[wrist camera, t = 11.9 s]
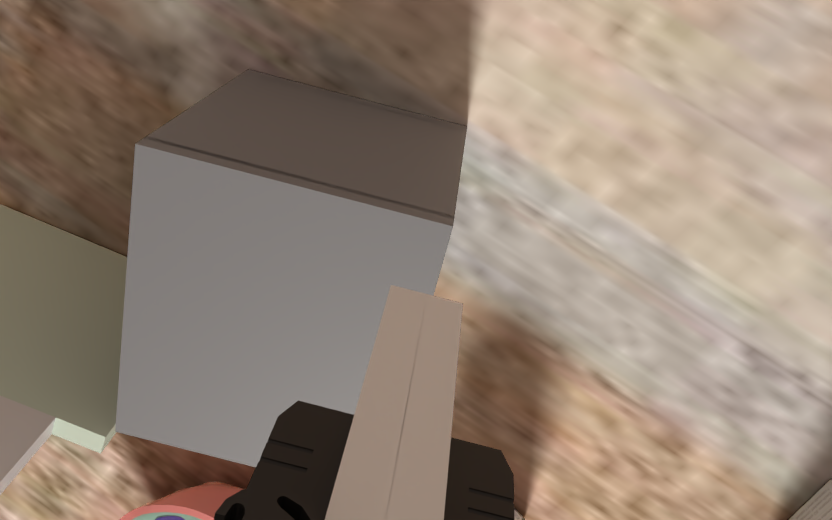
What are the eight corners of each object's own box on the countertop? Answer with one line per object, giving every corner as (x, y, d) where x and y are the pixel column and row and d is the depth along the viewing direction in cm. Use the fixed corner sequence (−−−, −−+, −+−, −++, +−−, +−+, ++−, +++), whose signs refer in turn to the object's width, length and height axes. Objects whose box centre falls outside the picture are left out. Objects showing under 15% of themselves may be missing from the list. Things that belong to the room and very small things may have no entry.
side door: (1, 204, 52) (-308, 390, 32) (212, 292, 53) (41, 523, 33) (-2, 218, 52) (-307, 410, 32) (207, 306, 54) (37, 540, 34)
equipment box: (467, 126, 46) (452, 226, 32) (408, 338, 53) (375, 498, 39) (248, 69, 46) (135, 143, 32) (218, 289, 53) (115, 431, 39)
